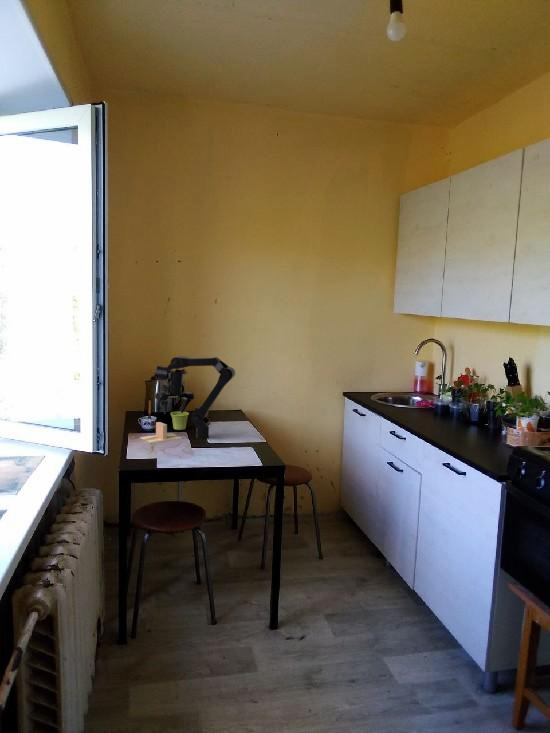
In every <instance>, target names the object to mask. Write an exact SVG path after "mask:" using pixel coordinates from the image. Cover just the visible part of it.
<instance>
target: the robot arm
mask: <svg viewBox="0 0 550 733" xmlns="http://www.w3.org/2000/svg"><path fill="white" fill-rule="evenodd" d="M206 366H207V367H208V366H209V367H210V366H211V367H214V368H215V370H216V372H217V373H218V374H219V377H218V379H217V381H216V382H217V383H215V386H214V387H213V388H212V390H211V391H210V393H209V394H208V396H207V397H206V399H205V400H204V402H203V403H202V405H198V406H196V407H195V408H194V411H193V412H192V413H191V415H192V416H191V417H190V419H191V421H192V424H194V427H195V429H196V432H195V437H196V439H198V440H207V439H209V434H210V433H209V432H210V427H209V426H210V424H211V422H212V421H211V420H210V419H209V418H208V416H209V412H210V410H211V409H210V408H211V407H212V406H213V404H214V402H215V401H216V400H217V398H218V397H219V395H221V394H220V393H222V391H223V389H224V387H225V386H227V384H229V383H230V381H231V380H232V379H234V377H235V376H236V371H235V369H234V368H233V367H231V366H229V365H228V364H227V363H225V362H224V361H223V360H221V359H220V358H219V357H218V356H215V357H187V356H181V355H177V356H174V357H172V358H171V360H170V363H169V364H168V366H163V365H157V366H156V369H155V372H154V379H155V380H158V381H169V383H168V386H167V385H166V384H161V385H160V391H161V392H156V393H155V395H154V398H155V399H156V400H157V401H159V402H160V403H161V406H162V409H163V414H164V415H166V414H167V410H168V405H169V401H168V399H181V405H180V406H181V407H180V412H181V413H183V412H185V410H186V408H187V407H188V404H189V403H190V402H191V401H192V400H195V393H193V392H191V391H182V389H183V388H184V385H183V378H184V375H186V374H188V372H187V370H186V369H185V368H187V367H206Z"/></svg>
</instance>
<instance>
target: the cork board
mask: <svg viewBox="0 0 550 733" xmlns="http://www.w3.org/2000/svg"><path fill="white" fill-rule="evenodd" d="M139 439H142V440H144V441H146V442H148V443H150V444H154V443H155V444H156V443H160V442H166V441H172V440H173V441H174V440H180V439H183V437H181V436H179V435H177V434H175V433H172V432H167V439H164V440H163V439H160V438H158V437H156V434H155V435H147V436H139Z"/></svg>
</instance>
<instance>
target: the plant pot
mask: <svg viewBox="0 0 550 733" xmlns="http://www.w3.org/2000/svg"><path fill="white" fill-rule="evenodd" d="M189 415H190V413H189V412H187V411H183V413H181V411H172V412H170V416H171V419H172V428H173V429H174V430H177V431H180V430H182V431H183V430H186V428H187V422H188V417H189Z"/></svg>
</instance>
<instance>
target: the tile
mask: <svg viewBox="0 0 550 733" xmlns="http://www.w3.org/2000/svg"><path fill="white" fill-rule="evenodd" d="M167 433H168V424H166V423H163V422H161V421H158V422H157V421H156V422H155V435H156V437H158V438H160V439H163V440H164V439H167Z"/></svg>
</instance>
